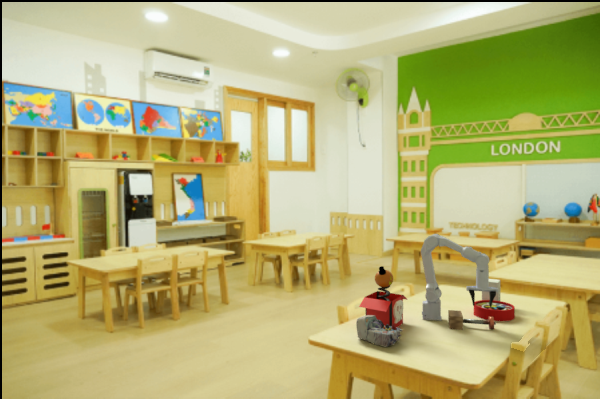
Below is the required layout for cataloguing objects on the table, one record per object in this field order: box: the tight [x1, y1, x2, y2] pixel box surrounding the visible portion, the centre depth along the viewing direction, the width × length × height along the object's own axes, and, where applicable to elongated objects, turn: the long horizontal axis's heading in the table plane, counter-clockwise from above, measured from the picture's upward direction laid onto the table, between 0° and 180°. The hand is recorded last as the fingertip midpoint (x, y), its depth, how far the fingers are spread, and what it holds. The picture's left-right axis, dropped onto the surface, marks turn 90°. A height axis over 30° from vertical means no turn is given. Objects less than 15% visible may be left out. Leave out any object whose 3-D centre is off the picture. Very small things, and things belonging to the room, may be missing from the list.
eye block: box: [447, 309, 464, 331], centre depth 215 cm, size 6×10×6 cm, turn 165°
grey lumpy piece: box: [355, 314, 404, 348], centre depth 196 cm, size 13×11×20 cm
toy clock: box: [473, 299, 516, 322], centre depth 232 cm, size 20×6×20 cm
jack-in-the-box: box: [358, 266, 408, 328], centre depth 218 cm, size 26×16×30 cm, turn 143°
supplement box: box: [481, 278, 501, 301], centre depth 250 cm, size 9×9×15 cm
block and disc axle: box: [463, 316, 497, 330], centre depth 212 cm, size 15×6×6 cm, turn 75°
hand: (481, 305), depth 216 cm, fingers open, 7 cm apart
